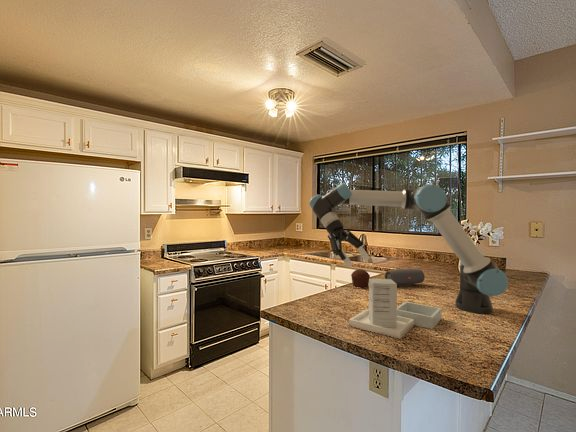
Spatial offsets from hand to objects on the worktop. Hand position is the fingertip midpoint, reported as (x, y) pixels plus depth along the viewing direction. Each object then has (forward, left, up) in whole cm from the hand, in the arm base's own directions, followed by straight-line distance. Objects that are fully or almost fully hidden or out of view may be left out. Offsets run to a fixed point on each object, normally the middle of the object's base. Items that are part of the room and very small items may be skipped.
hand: (359, 262), depth 132 cm
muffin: (+23, -51, -23) cm, 60 cm away
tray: (-12, +4, -23) cm, 27 cm away
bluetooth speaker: (+3, -71, -23) cm, 74 cm away
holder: (-21, -13, -23) cm, 34 cm away
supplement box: (-12, +4, -22) cm, 26 cm away
